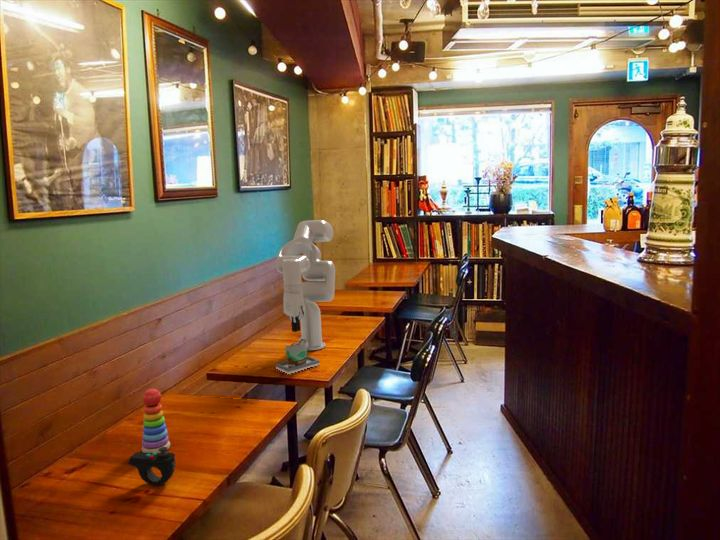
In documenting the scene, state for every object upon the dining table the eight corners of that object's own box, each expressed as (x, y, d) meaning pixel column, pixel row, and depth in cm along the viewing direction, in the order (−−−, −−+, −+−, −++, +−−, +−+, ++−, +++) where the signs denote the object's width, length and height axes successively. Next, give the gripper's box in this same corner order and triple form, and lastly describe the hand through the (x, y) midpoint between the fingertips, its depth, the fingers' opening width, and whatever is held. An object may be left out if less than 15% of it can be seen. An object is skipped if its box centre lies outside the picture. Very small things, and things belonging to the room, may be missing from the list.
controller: (172, 489, 142) (168, 453, 140) (128, 486, 144) (124, 450, 142) (180, 480, 146) (176, 445, 144) (138, 477, 148) (134, 443, 146)
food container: (298, 371, 224) (296, 347, 223) (286, 369, 227) (284, 345, 226) (315, 361, 235) (313, 339, 233) (303, 360, 238) (301, 337, 236)
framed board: (276, 369, 231) (275, 363, 231) (307, 360, 241) (306, 355, 241) (288, 374, 224) (288, 369, 224) (319, 365, 234) (319, 360, 233)
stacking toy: (166, 455, 160) (160, 394, 157) (138, 457, 160) (131, 396, 157) (173, 442, 168) (167, 384, 165) (146, 444, 167) (140, 386, 164)
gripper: (276, 287, 231) (279, 329, 234) (295, 292, 219) (298, 336, 223) (291, 284, 235) (294, 325, 239) (310, 289, 224) (313, 332, 227)
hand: (296, 330), depth 231 cm, fingers closed
